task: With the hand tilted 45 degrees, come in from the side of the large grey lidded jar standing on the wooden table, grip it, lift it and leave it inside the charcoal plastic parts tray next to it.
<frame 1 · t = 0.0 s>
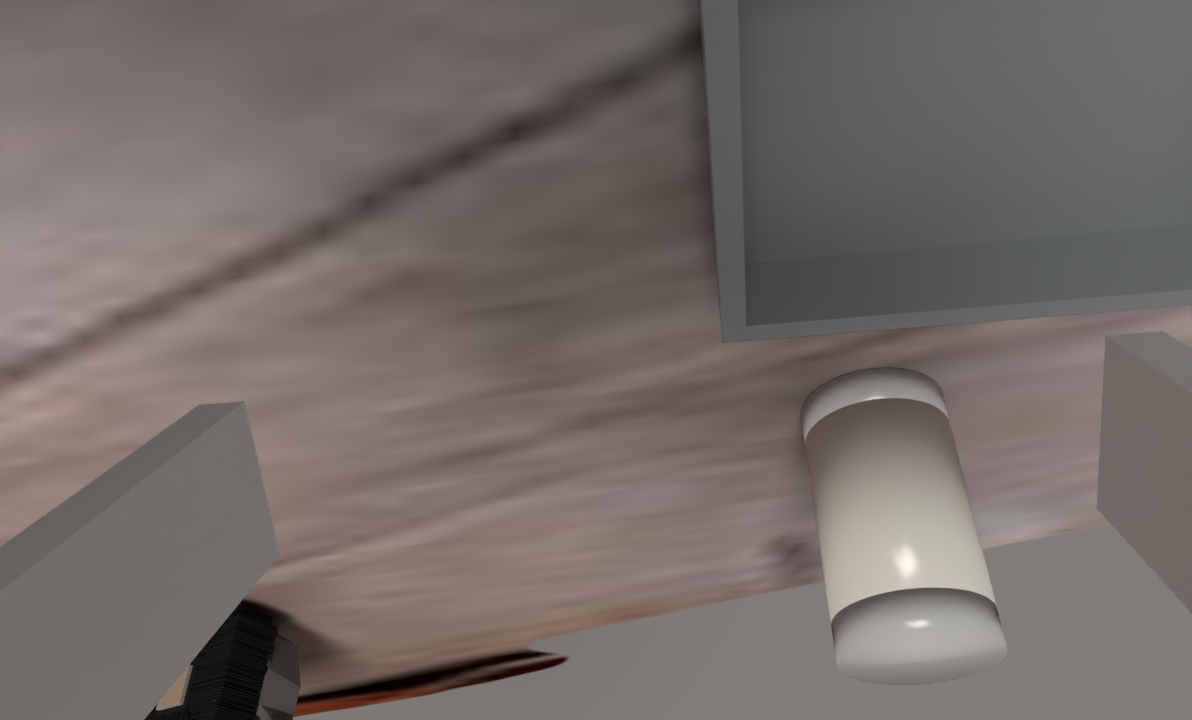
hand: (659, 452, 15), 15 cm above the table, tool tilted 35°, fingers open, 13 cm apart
parts tray: (997, 67, 27), on the table
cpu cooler: (232, 616, 62), on the table
grey lidded jar: (870, 408, 41), on the table
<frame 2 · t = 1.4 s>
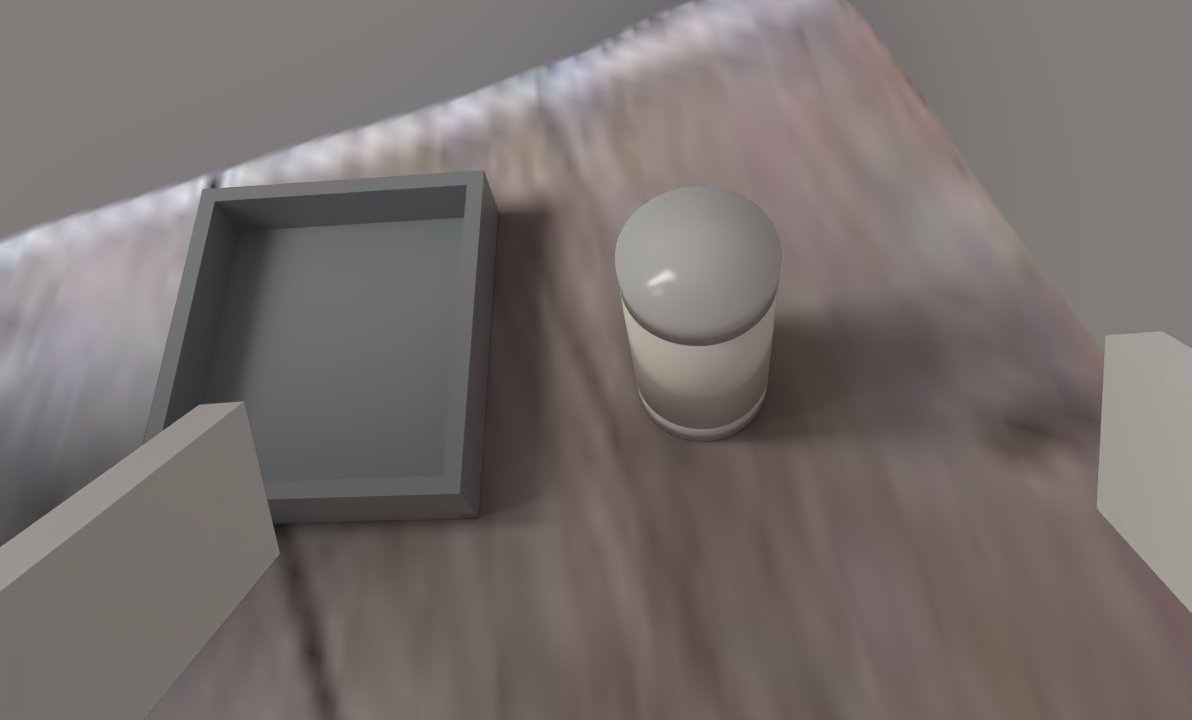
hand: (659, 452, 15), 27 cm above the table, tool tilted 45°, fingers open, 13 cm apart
parts tray: (344, 359, 47), on the table
grey lidded jar: (701, 381, 44), on the table
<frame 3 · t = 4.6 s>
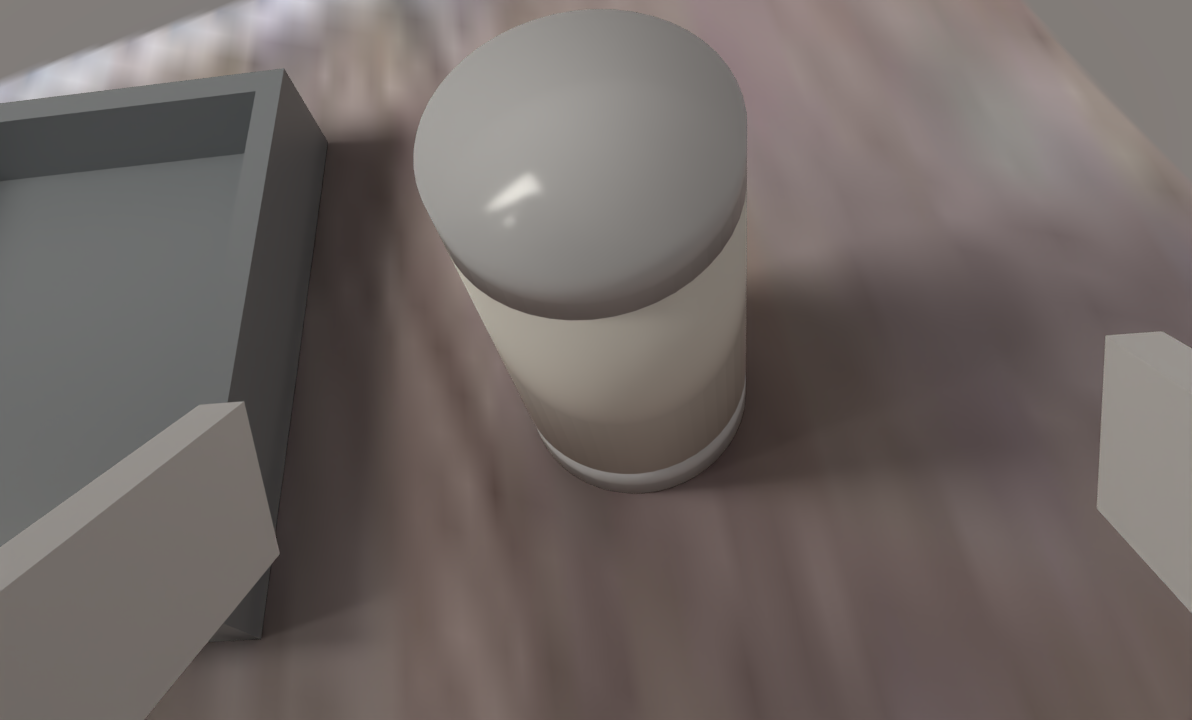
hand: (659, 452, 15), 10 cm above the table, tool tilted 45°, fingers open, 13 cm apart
parts tray: (74, 377, 29), on the table
grey lidded jar: (637, 391, 27), on the table
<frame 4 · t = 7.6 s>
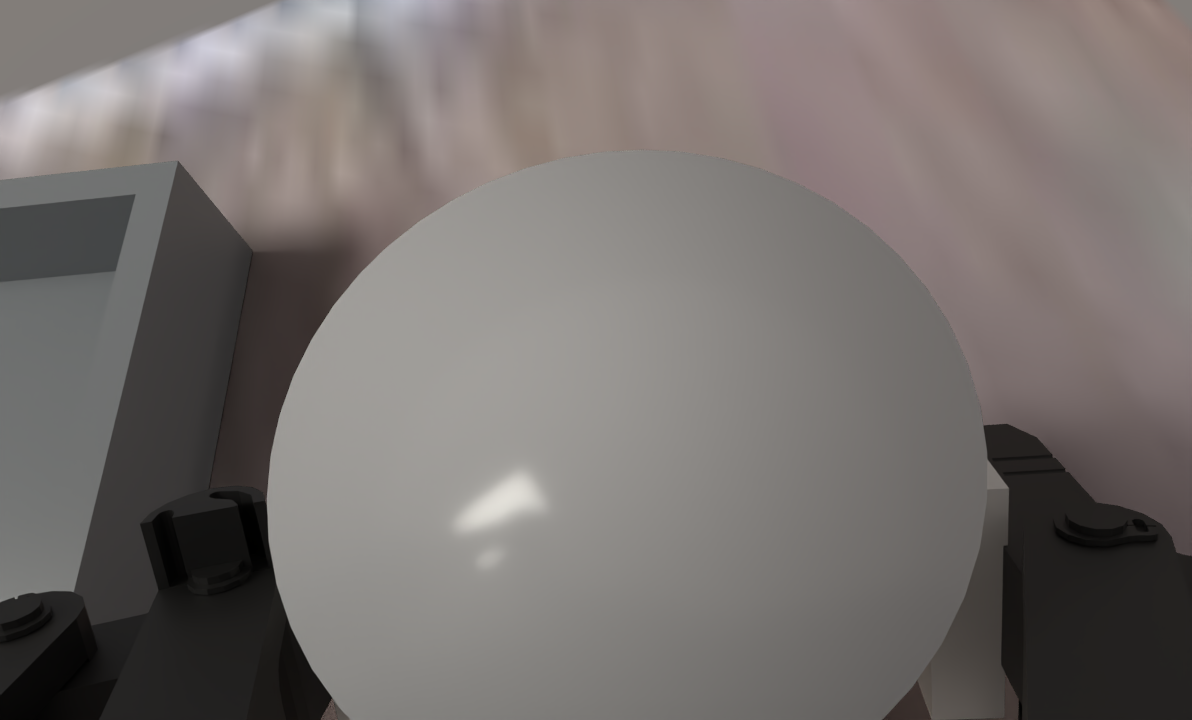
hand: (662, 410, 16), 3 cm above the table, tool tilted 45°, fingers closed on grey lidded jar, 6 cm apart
grey lidded jar: (686, 661, 18), on the table, touching gripper
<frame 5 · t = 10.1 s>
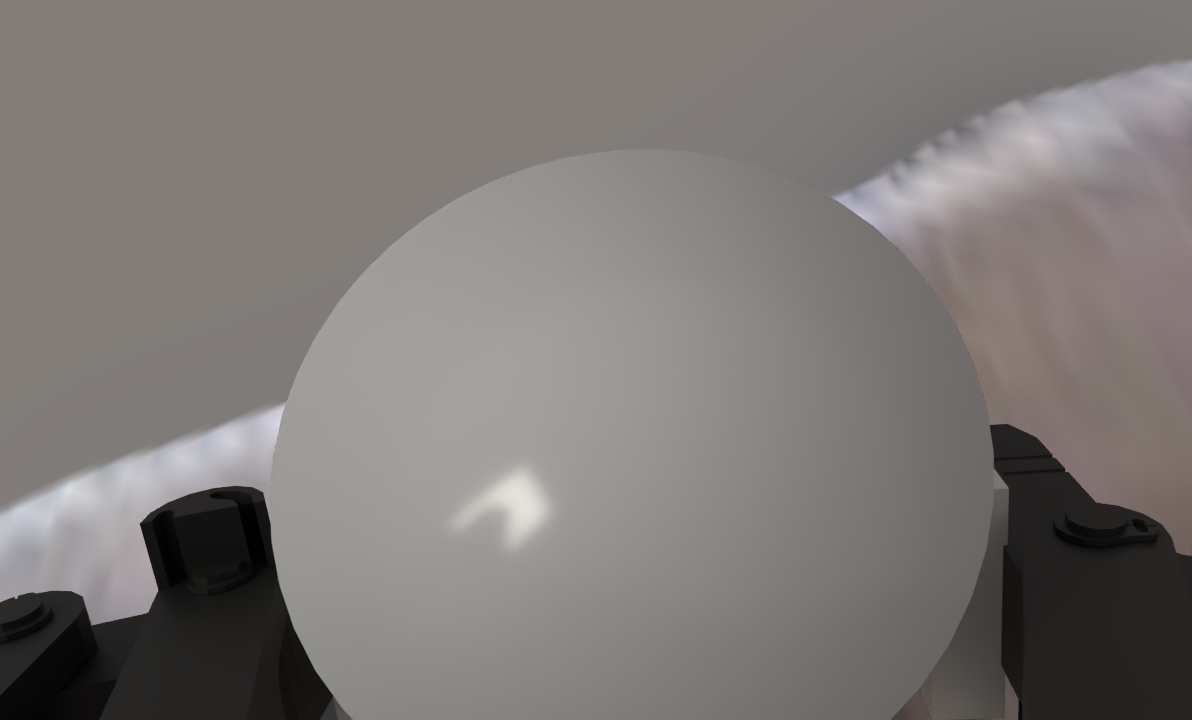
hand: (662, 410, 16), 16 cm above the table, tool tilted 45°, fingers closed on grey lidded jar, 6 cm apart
grey lidded jar: (688, 662, 18), point 12 cm above the table, touching gripper
when the fingers open (6 cm above the table, at t = 13.0 s): grey lidded jar drops 2 cm, resting on parts tray.
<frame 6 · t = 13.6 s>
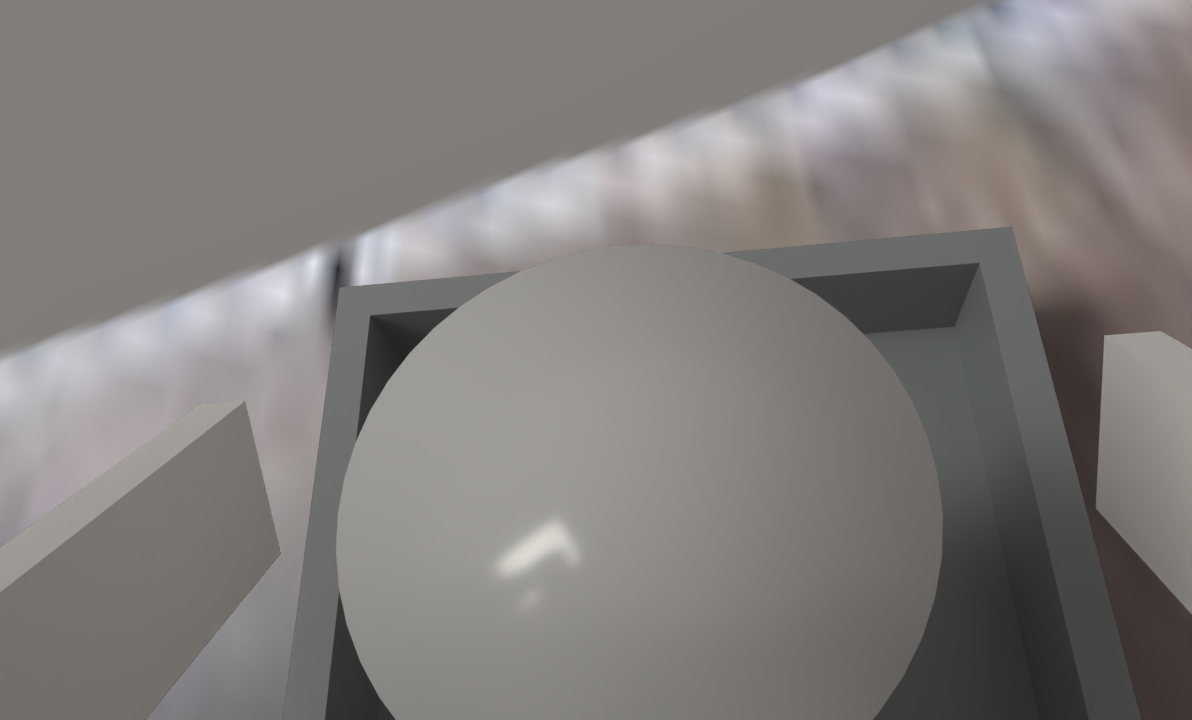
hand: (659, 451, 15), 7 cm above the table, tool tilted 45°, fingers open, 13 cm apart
parts tray: (692, 682, 20), on the table
grey lidded jar: (690, 679, 19), point 1 cm above the table, touching parts tray
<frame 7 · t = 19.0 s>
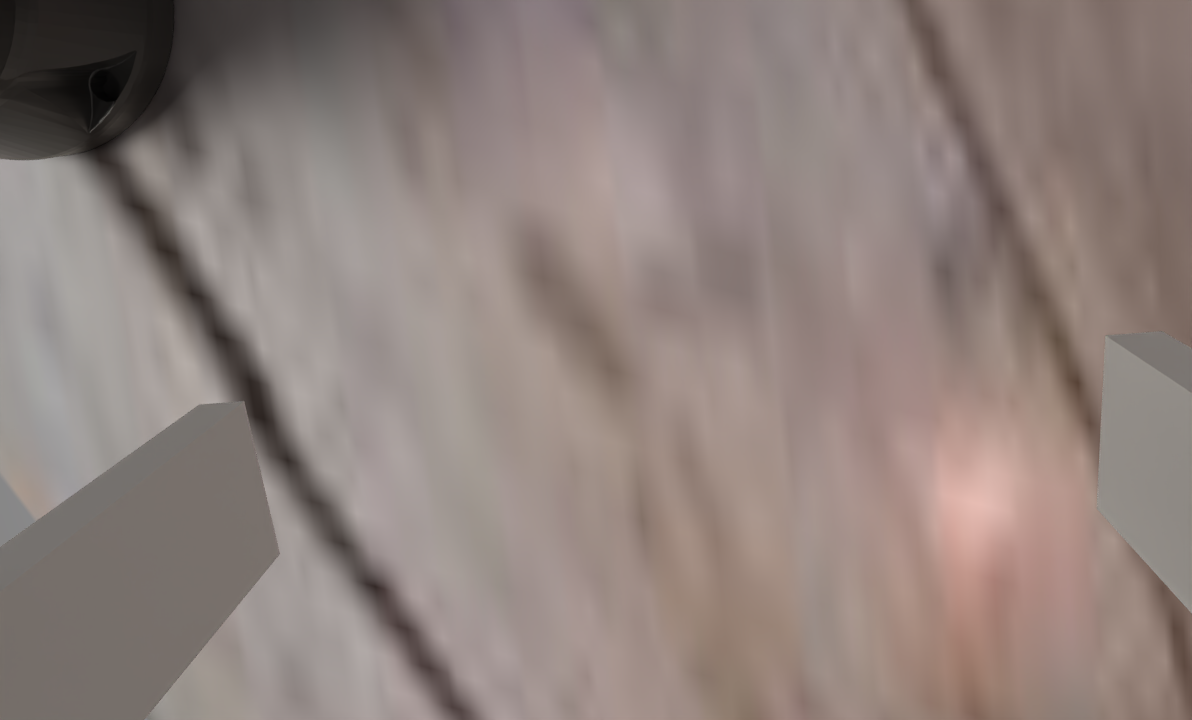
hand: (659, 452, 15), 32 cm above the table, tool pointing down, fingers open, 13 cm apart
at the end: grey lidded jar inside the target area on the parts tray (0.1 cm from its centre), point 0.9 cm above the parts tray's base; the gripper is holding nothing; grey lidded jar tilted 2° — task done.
